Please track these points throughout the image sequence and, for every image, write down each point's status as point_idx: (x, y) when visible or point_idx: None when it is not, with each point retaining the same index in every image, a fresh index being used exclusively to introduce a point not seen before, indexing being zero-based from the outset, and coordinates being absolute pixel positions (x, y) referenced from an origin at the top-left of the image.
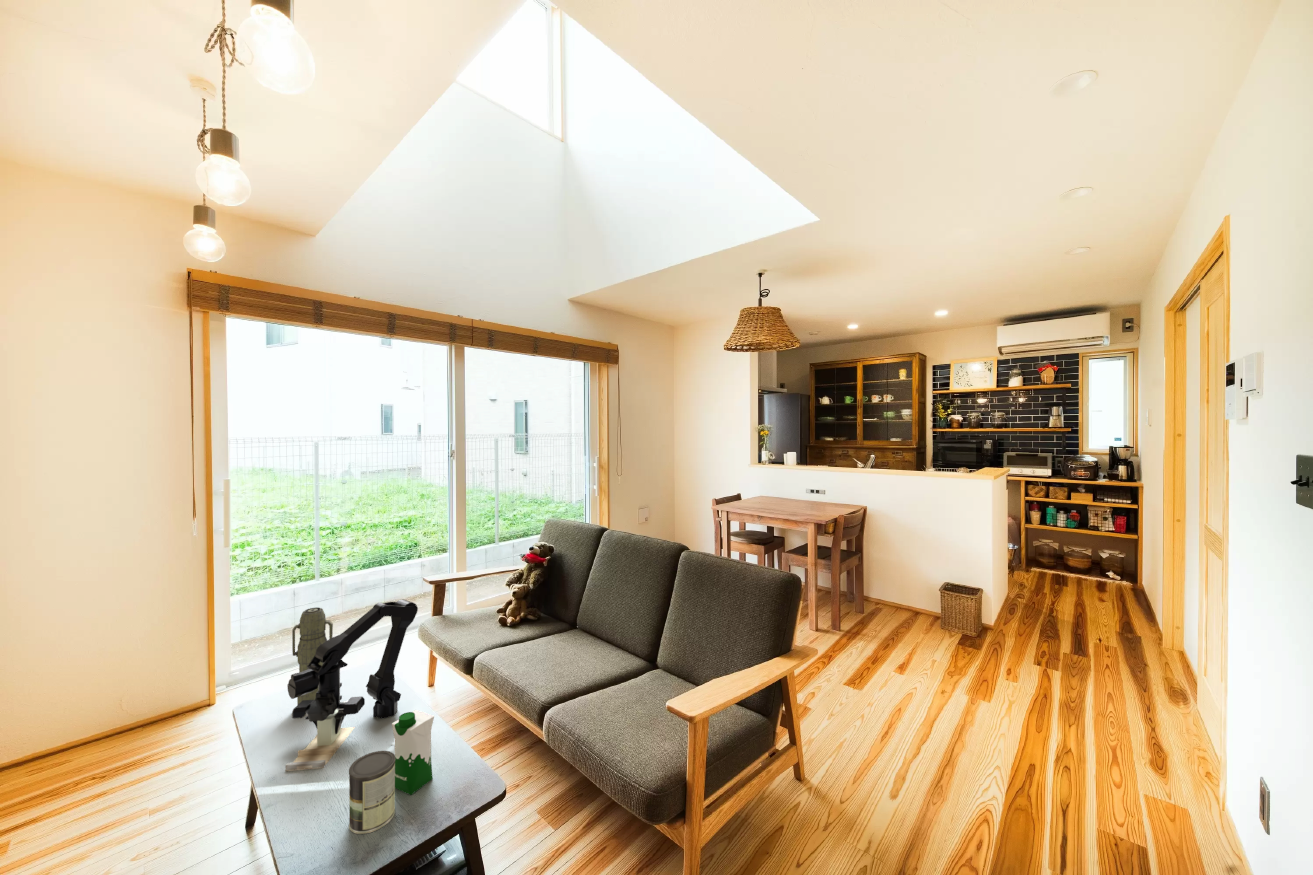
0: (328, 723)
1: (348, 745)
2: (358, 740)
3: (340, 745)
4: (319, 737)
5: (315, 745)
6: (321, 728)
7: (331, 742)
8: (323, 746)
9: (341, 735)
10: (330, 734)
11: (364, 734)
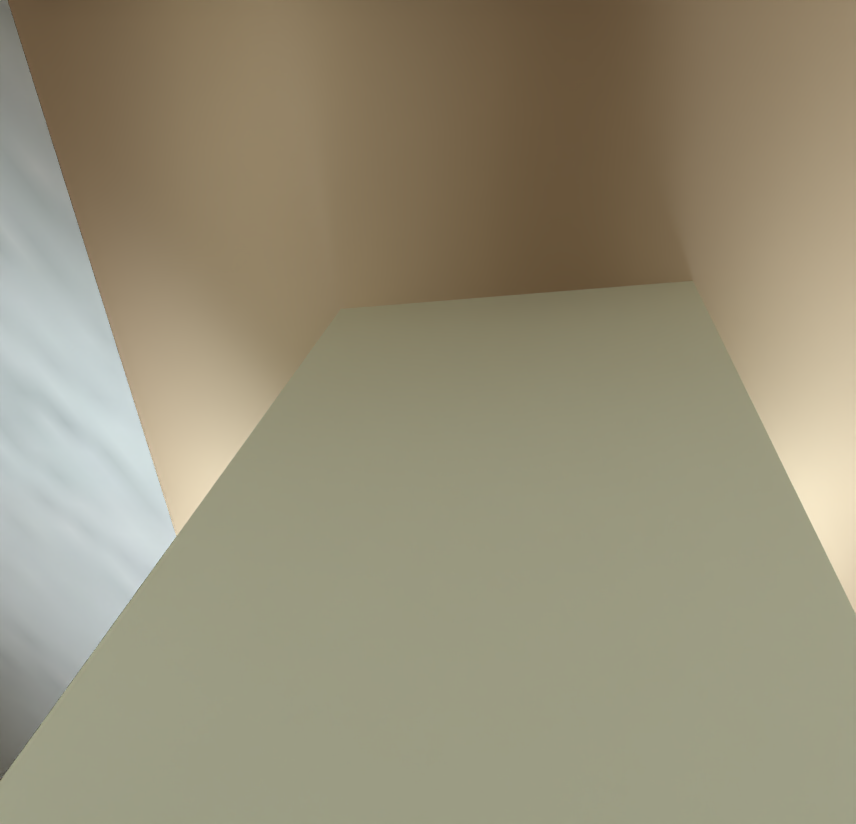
0: (162, 791)
1: (113, 388)
2: (48, 518)
3: (103, 271)
4: (653, 372)
5: (752, 301)
6: (602, 584)
7: (325, 331)
8: (501, 244)
9: None
10: (278, 432)
11: (78, 658)
